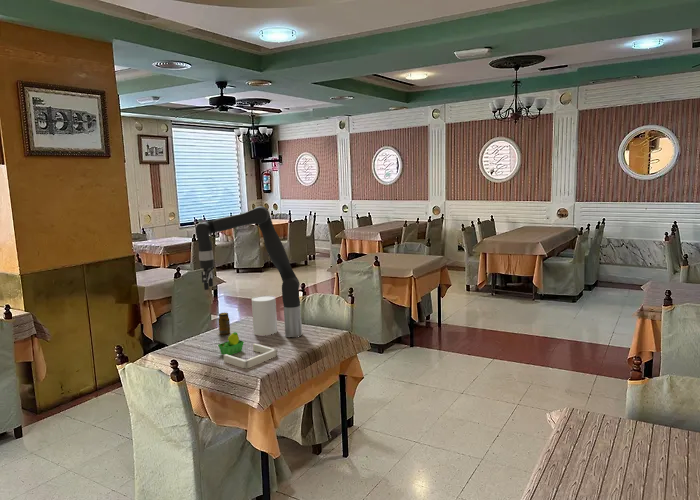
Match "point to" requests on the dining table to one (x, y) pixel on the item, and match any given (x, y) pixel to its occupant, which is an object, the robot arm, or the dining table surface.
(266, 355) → the corral
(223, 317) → the condiment
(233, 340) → the fruit basket
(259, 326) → the canister
